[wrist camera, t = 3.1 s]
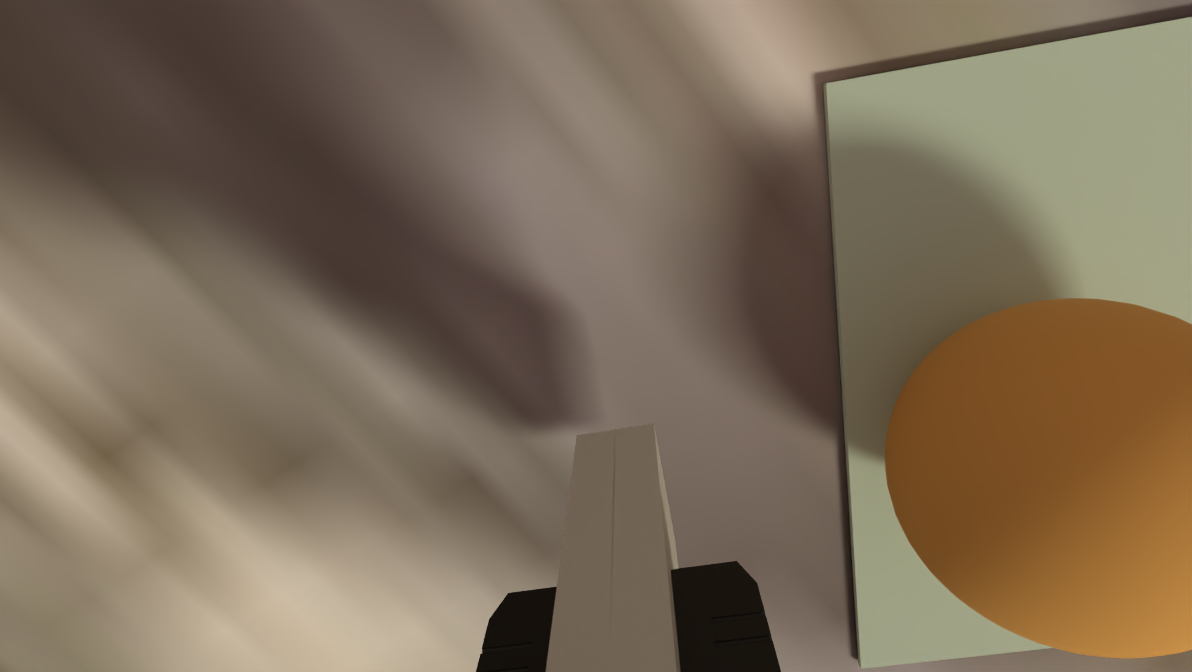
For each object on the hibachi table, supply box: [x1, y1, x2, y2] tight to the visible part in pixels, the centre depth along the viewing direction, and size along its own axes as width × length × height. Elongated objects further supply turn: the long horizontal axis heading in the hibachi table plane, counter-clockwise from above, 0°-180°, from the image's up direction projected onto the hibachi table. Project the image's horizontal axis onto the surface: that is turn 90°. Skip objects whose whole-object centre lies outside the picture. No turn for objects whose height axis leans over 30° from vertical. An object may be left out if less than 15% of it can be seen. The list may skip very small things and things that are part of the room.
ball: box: [885, 298, 1192, 658], centre depth 12 cm, size 6×6×6 cm
